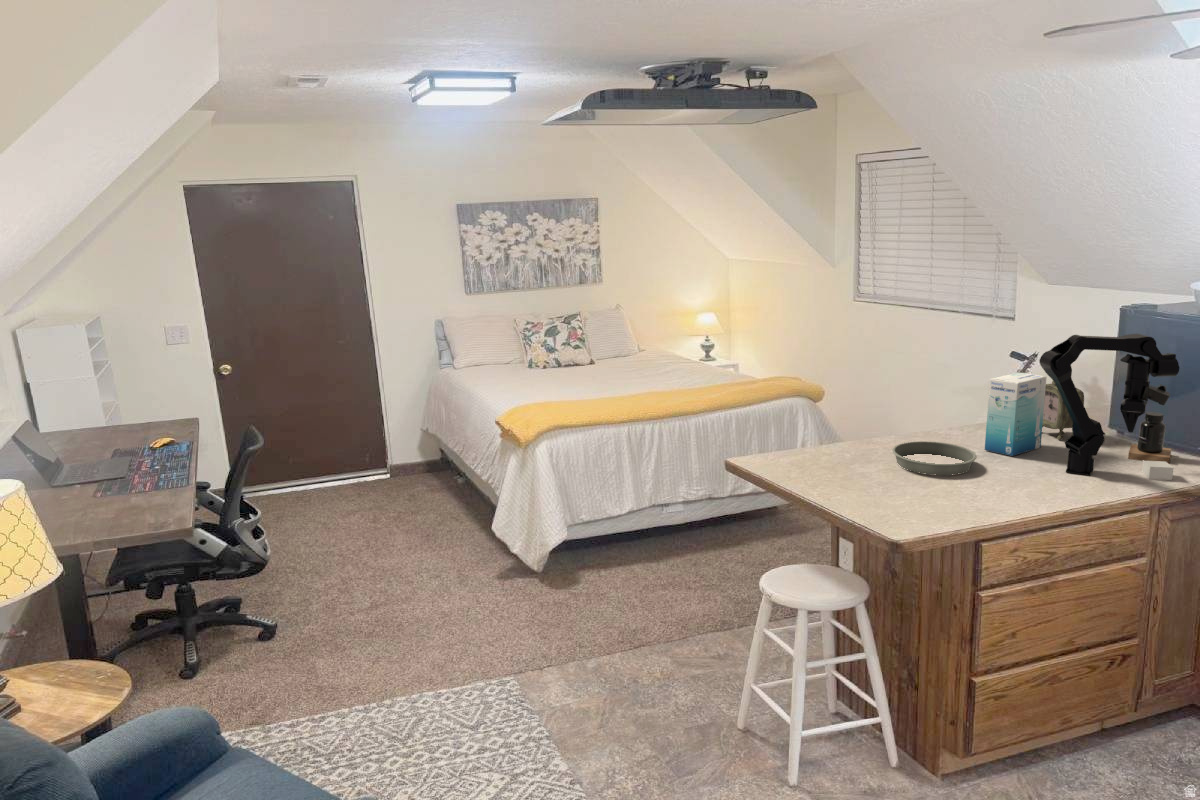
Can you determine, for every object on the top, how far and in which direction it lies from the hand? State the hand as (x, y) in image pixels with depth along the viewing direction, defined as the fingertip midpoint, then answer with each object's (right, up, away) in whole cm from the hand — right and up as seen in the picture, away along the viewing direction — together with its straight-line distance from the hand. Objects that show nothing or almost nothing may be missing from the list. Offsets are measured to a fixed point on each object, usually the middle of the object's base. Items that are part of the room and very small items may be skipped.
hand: (1131, 428), depth 266 cm
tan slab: (+15, -9, +16) cm, 24 cm away
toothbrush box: (-23, -8, +27) cm, 36 cm away
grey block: (+6, -14, -3) cm, 16 cm away
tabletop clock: (-1, -4, +41) cm, 42 cm away
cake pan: (-54, -12, +13) cm, 57 cm away
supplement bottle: (+15, -8, +15) cm, 22 cm away
